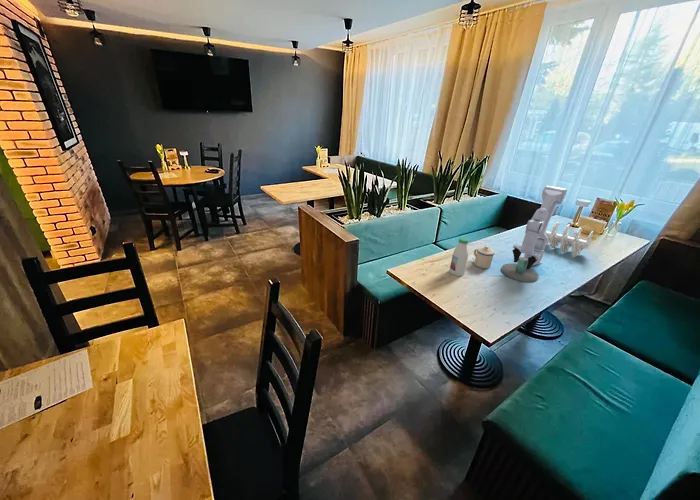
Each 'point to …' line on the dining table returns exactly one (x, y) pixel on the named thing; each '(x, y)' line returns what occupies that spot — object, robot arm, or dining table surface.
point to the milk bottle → (459, 258)
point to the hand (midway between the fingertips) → (521, 265)
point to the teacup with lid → (483, 257)
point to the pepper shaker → (521, 265)
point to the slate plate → (525, 277)
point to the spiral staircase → (567, 240)
